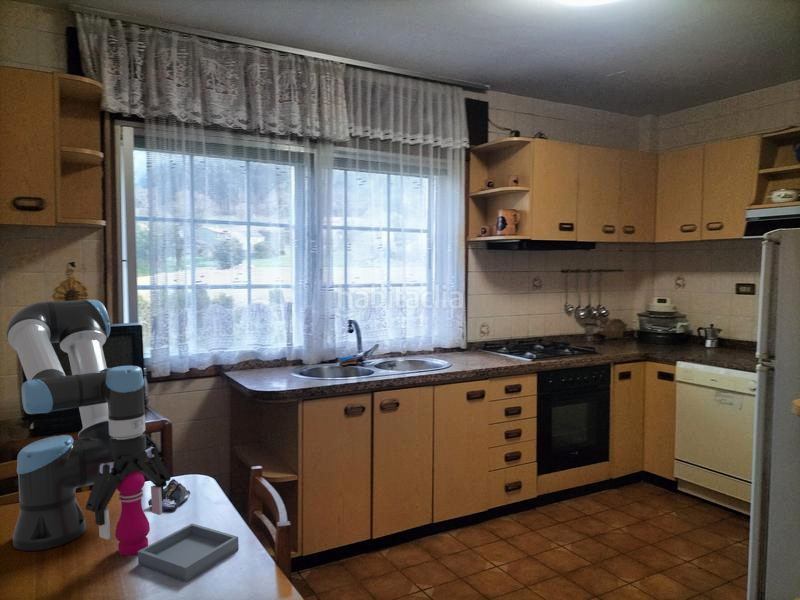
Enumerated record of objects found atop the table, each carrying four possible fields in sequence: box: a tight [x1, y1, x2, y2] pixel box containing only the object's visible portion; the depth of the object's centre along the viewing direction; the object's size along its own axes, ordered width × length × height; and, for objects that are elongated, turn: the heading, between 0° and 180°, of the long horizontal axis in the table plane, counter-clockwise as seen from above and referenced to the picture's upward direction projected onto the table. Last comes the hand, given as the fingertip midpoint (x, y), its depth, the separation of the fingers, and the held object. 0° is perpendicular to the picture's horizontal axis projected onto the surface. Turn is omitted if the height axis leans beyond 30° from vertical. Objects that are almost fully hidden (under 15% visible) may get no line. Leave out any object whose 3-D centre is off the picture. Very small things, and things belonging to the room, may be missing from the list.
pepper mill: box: [114, 471, 151, 557], centre depth 133 cm, size 7×7×20 cm
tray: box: [137, 523, 240, 583], centre depth 130 cm, size 15×15×3 cm
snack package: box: [147, 478, 191, 512], centre depth 159 cm, size 12×6×12 cm
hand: (132, 525), depth 133 cm, fingers open, 13 cm apart
